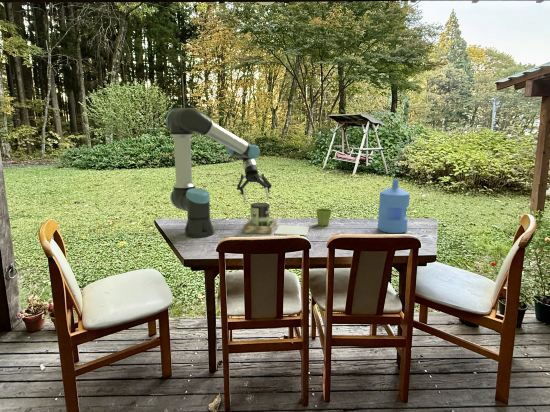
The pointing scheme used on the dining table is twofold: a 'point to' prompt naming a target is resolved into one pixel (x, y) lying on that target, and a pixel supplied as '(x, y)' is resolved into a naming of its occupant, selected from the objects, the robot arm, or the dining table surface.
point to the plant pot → (323, 216)
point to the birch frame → (259, 227)
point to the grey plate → (292, 230)
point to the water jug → (393, 209)
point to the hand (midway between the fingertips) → (256, 198)
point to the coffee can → (260, 214)
